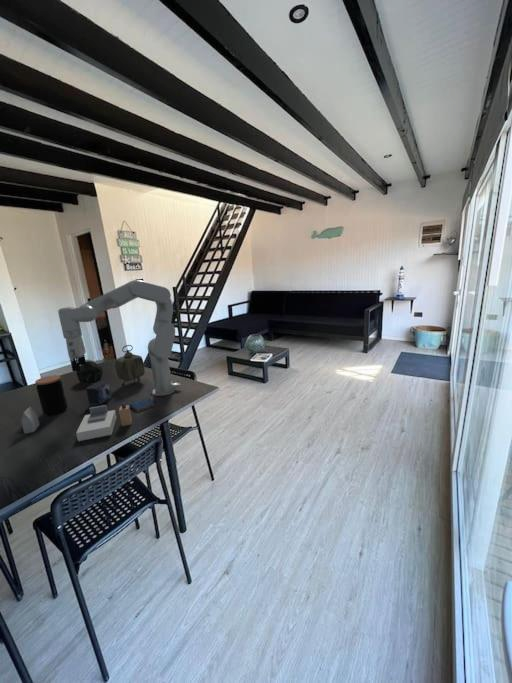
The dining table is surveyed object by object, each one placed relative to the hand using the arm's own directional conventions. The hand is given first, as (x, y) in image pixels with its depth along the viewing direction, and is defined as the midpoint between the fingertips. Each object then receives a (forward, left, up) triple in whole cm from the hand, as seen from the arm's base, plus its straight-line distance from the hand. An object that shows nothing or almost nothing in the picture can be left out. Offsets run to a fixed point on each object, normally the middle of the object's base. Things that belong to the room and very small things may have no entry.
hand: (79, 367), depth 143 cm
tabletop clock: (-19, -31, -24) cm, 43 cm away
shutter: (-8, +17, -20) cm, 27 cm away
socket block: (-8, +20, -24) cm, 32 cm away
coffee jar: (+17, -8, -24) cm, 31 cm away
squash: (+8, -48, -24) cm, 54 cm away
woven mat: (-26, +4, -25) cm, 36 cm away
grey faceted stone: (+22, +8, -24) cm, 34 cm away
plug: (-20, +20, -24) cm, 37 cm away
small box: (-4, -10, -24) cm, 26 cm away
